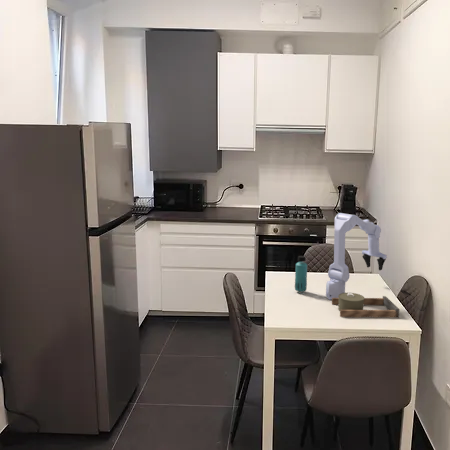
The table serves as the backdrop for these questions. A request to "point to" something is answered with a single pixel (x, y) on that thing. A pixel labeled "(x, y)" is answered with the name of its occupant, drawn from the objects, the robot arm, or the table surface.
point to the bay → (391, 312)
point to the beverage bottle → (301, 274)
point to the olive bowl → (350, 301)
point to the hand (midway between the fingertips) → (374, 268)
